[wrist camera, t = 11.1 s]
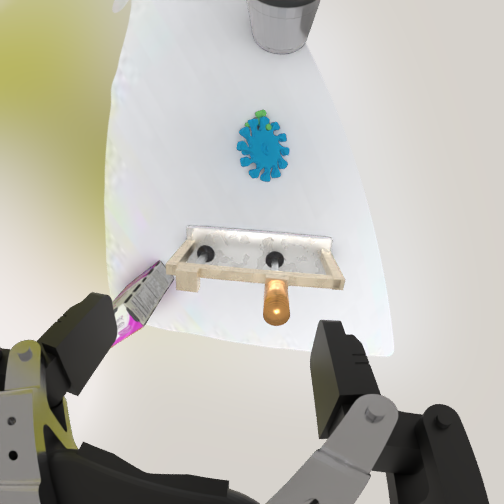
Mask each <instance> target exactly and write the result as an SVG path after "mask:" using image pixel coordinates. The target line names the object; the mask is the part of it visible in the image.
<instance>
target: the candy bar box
mask: <svg viewBox="0 0 504 504" xmlns="http://www.w3.org/2000/svg"><path fill="white" fill-rule="evenodd" d="M173 280H174V278H173V276H172V275H168V274H166V268H165V266H164V265H163V264H162V263H161V261H158V262H157V263H155V264H154V265H153V266H152V267H150V268H149V269H148V270H146V271H145V272H144V273H143V274H141V275H140V276H139V277H138V278H136V279H135V280H134V281H132V282H131V283H130V284H129V285H127V286H126V287H125V289H124V290H123V291H122V292H121V293H120V294H119V295H118V296H117V298H116V299H115V300H114V301H113V302H112V305H113V310H114V314H115V319H116V324H117V338H116V340H115V342H114V344H113V345H112V346H111V347H113V346H114V345H116V344H117V343H119V342H121V341H122V340H124V339H125V338H127V337H128V336H130V335H132V334H133V333H135V332H136V331H138V330H140V329H141V328H143V327H144V326H145V324H146V323H147V321H148V319H149V318H150V316H151V315H152V313H153V311H154V310H155V308H156V307H157V305H158V303H159V302H160V300H161V298H162V297H163V295H164V294H165V292H166V291H167V289H168V288H169V286H170V285H171V283H172V282H173Z"/></svg>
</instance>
